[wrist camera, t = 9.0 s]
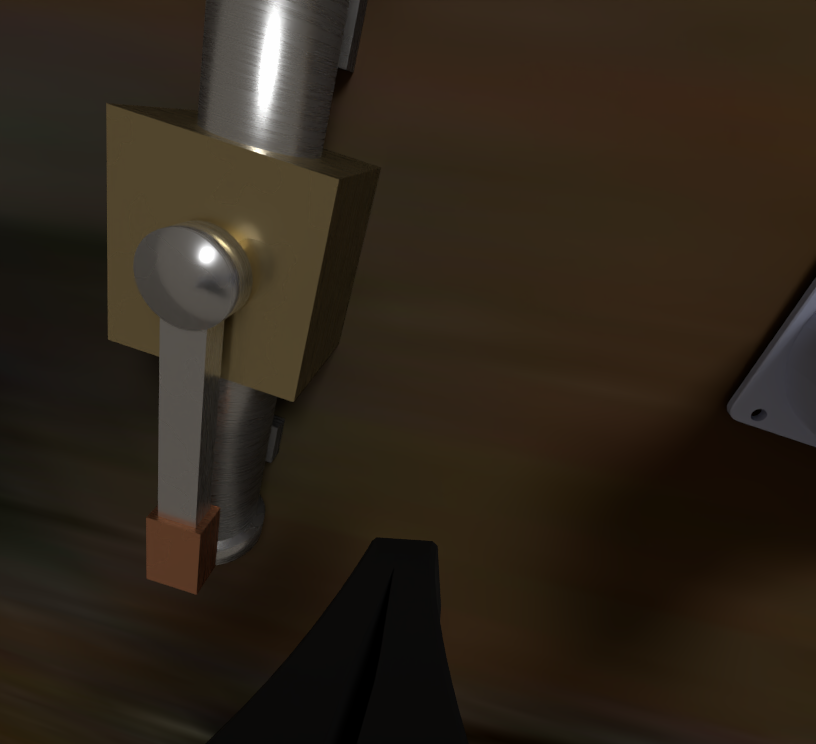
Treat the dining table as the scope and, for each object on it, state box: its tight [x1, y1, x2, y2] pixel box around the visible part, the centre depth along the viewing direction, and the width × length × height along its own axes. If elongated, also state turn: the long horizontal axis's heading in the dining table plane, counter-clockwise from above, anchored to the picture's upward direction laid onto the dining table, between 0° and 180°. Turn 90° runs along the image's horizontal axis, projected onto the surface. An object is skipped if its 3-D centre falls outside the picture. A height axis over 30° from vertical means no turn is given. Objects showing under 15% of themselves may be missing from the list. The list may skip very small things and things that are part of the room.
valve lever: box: [133, 220, 253, 595], centre depth 16 cm, size 14×3×1 cm, turn 166°
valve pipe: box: [106, 0, 381, 565], centre depth 17 cm, size 6×26×5 cm, turn 164°
